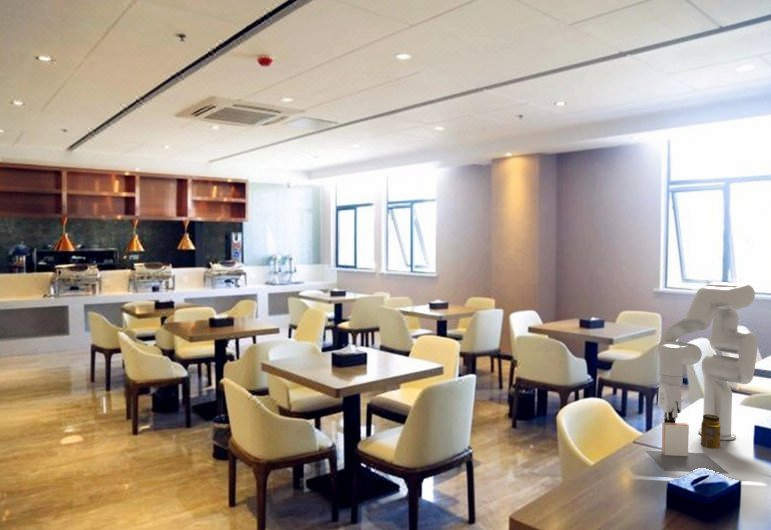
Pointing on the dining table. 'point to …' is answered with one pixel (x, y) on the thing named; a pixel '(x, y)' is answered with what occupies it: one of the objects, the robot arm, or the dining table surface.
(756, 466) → the dining table surface
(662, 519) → the dining table surface
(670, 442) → the tile
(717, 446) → the condiment
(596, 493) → the dining table surface
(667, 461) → the mat
